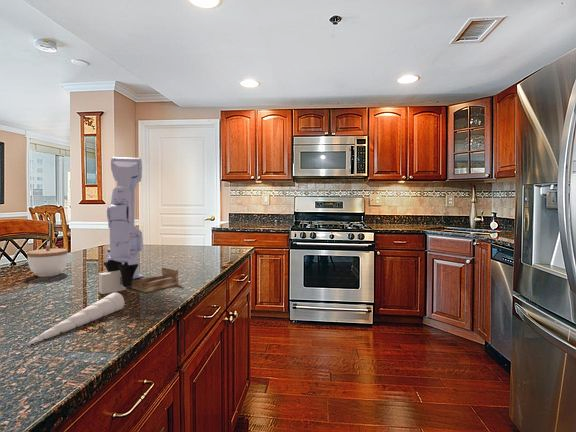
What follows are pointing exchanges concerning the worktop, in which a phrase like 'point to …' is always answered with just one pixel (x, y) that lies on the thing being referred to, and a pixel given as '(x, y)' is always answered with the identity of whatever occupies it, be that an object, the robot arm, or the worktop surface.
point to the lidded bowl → (47, 261)
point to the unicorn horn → (85, 316)
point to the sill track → (157, 281)
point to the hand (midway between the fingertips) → (121, 284)
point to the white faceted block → (110, 282)
